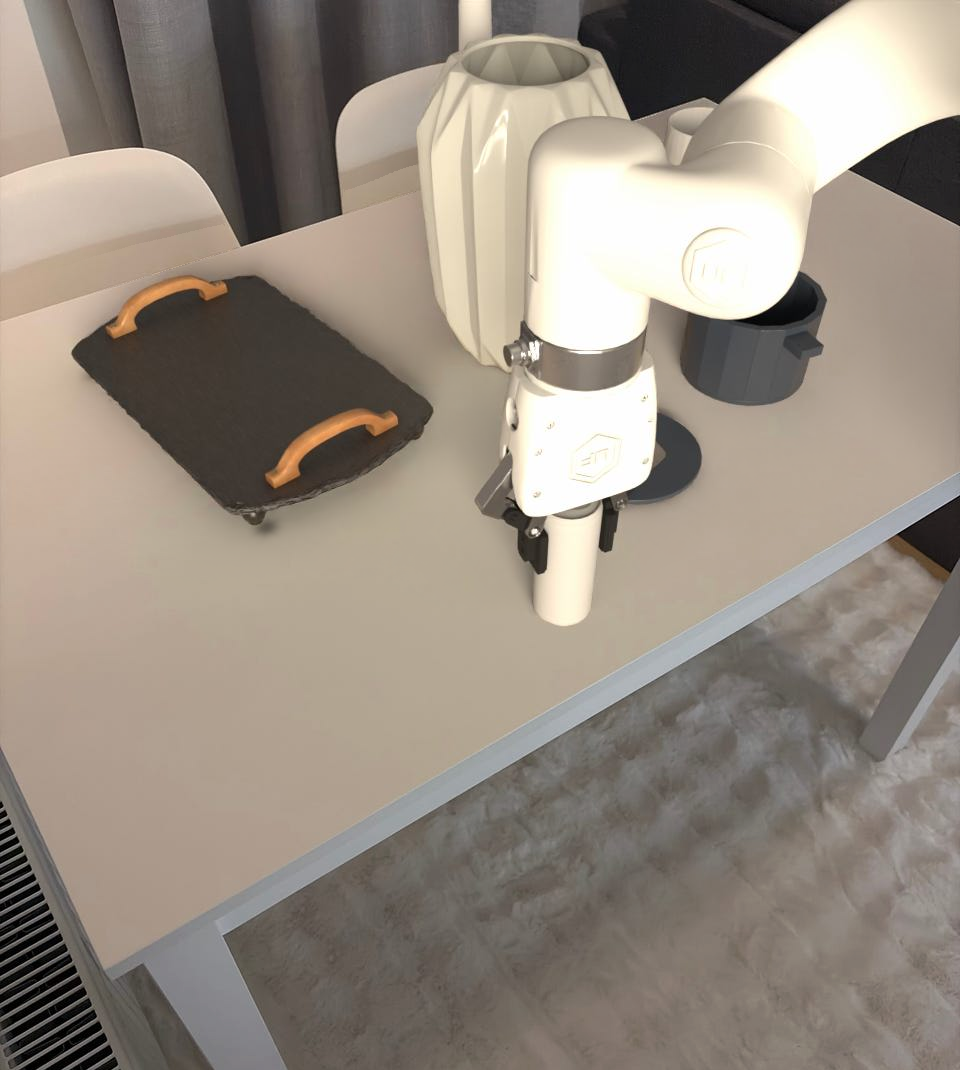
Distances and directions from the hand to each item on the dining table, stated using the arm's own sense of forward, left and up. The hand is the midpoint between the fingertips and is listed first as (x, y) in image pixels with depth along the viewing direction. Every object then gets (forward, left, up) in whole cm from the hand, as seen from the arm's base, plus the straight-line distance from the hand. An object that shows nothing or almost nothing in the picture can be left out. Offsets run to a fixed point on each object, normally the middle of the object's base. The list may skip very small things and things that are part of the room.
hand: (566, 549), depth 72 cm
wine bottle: (-16, -54, -7) cm, 57 cm away
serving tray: (+16, -38, -7) cm, 42 cm away
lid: (-14, -14, -6) cm, 21 cm away
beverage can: (0, 0, -7) cm, 7 cm away
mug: (-47, -53, -7) cm, 71 cm away
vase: (-13, -36, -7) cm, 39 cm away
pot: (-32, -22, -7) cm, 39 cm away
